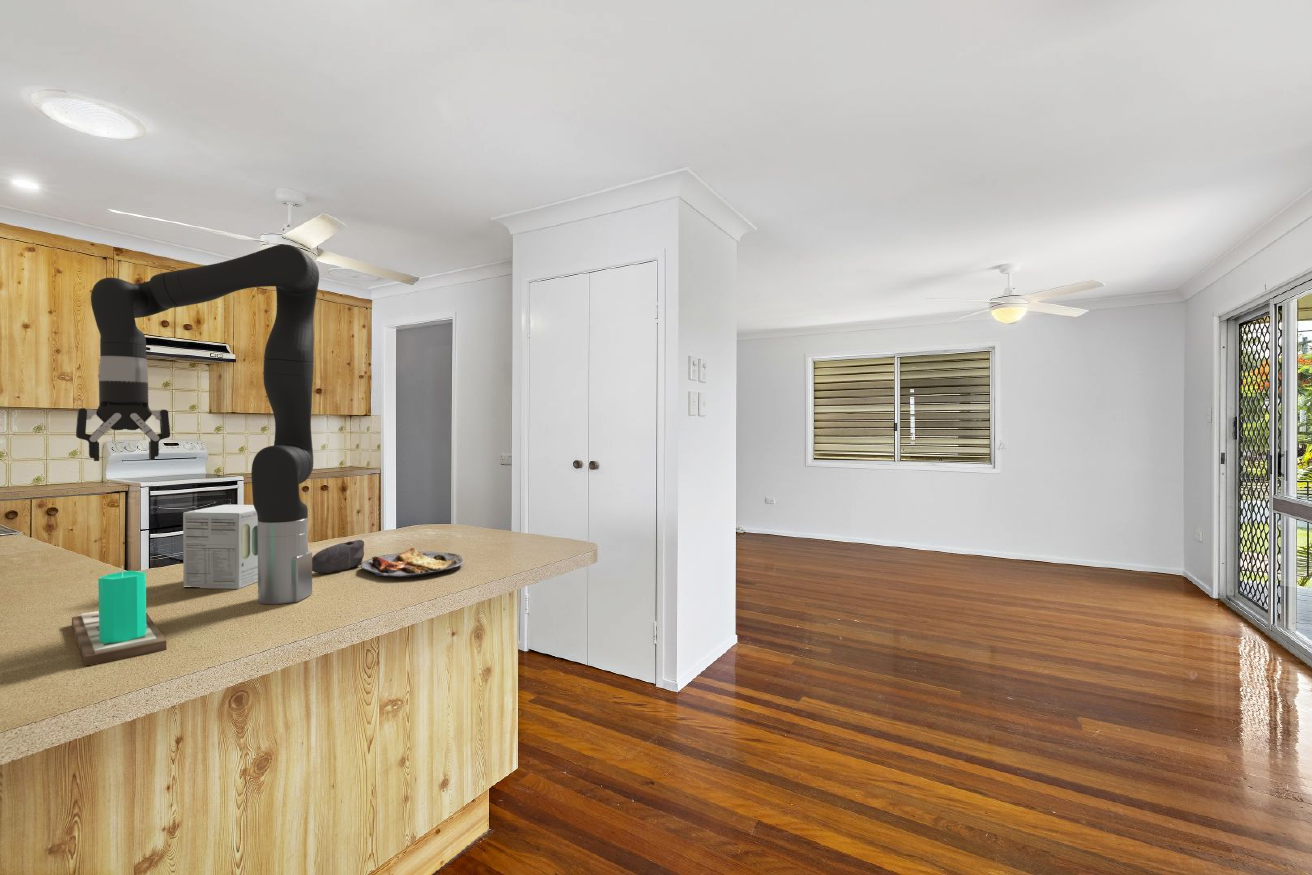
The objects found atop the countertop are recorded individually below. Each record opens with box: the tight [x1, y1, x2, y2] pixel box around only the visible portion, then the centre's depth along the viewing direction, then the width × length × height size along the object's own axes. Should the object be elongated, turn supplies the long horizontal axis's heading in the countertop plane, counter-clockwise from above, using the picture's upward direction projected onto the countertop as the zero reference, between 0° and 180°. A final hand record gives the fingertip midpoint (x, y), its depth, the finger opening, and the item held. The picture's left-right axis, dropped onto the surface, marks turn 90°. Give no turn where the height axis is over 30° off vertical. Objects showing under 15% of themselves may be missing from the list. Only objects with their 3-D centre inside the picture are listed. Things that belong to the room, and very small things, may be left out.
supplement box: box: [182, 504, 258, 590], centre depth 145 cm, size 13×13×18 cm
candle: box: [97, 565, 147, 643], centre depth 102 cm, size 6×6×12 cm
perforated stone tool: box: [312, 539, 365, 575], centre depth 156 cm, size 15×5×7 cm, turn 150°
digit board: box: [71, 610, 168, 667], centre depth 108 cm, size 27×10×2 cm, turn 47°
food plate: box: [359, 547, 465, 578], centre depth 159 cm, size 25×23×4 cm
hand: (125, 460), depth 124 cm, fingers open, 8 cm apart
